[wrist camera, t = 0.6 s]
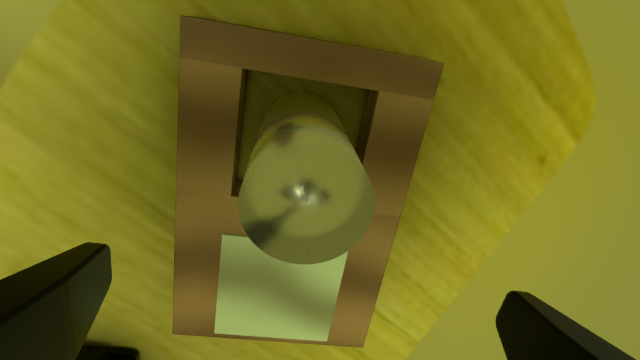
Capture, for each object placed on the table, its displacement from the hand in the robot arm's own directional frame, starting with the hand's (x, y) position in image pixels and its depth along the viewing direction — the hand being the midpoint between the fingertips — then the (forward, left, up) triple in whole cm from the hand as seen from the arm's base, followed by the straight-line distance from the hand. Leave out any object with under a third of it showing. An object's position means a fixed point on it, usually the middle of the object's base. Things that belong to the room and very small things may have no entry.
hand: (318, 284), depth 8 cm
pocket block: (-4, 0, -13) cm, 14 cm away
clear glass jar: (0, 0, -13) cm, 13 cm away
